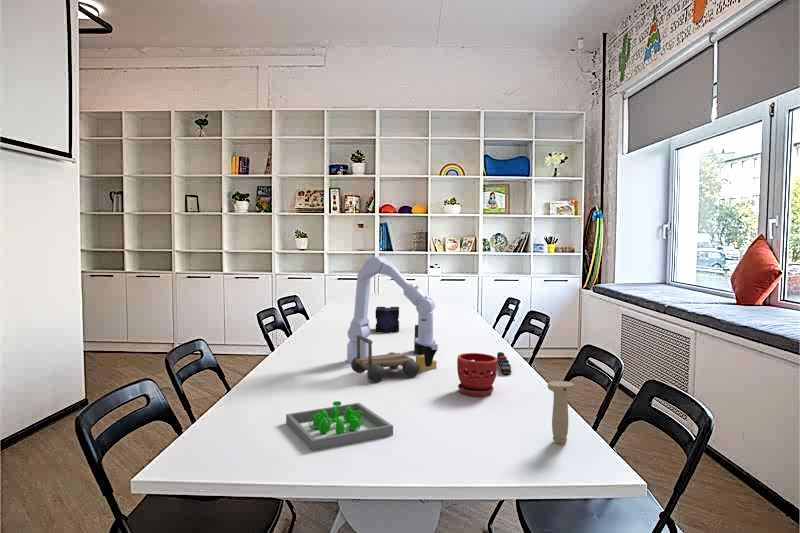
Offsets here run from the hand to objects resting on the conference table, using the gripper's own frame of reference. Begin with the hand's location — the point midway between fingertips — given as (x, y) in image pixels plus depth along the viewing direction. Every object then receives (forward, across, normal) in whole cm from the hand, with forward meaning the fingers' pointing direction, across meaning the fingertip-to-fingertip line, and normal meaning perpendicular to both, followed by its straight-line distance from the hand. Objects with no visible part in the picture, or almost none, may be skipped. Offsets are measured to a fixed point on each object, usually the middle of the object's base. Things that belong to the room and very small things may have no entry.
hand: (425, 364), depth 215 cm
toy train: (+2, -14, -27) cm, 30 cm away
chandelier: (+2, -43, +54) cm, 69 cm away
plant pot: (+2, -35, +1) cm, 35 cm away
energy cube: (+2, +78, -23) cm, 81 cm away
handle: (+2, -80, +8) cm, 80 cm away
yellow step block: (+1, 0, 0) cm, 1 cm away
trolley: (+1, -1, +18) cm, 18 cm away
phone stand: (+2, +25, -13) cm, 28 cm away
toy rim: (+1, -45, +54) cm, 70 cm away
